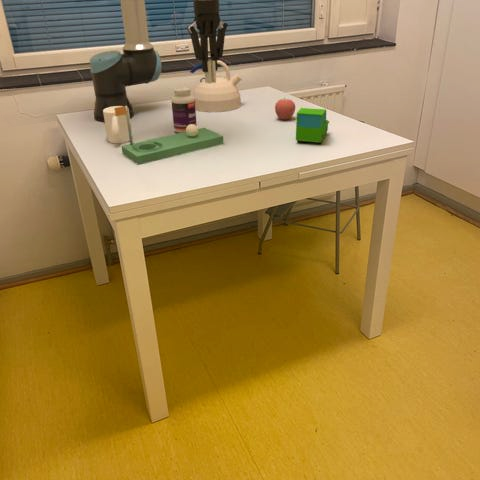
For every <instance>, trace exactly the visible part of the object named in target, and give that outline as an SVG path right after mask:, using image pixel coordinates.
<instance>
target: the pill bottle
mask: <svg viewBox="0 0 480 480" xmlns="http://www.w3.org/2000/svg"><path fill="white" fill-rule="evenodd" d="M173 93H174V95H173V96H172V98H171V100H170V101H171V110H172V122H173V129H174V131H175V132H176V133H182V132H186V127H187V126H188V125H190V124H194V125H196V126H197V124H198V123H197V114H196V113H197V112H196V111H197V110H196V109H195V98H194V97H193V95H192V94H191V88H190V87H185V86H184V87H175V88H174V89H173ZM197 127H198V126H197Z"/></svg>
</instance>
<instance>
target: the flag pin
mask: <svg viewBox="0 0 480 480" xmlns="http://www.w3.org/2000/svg"><path fill="white" fill-rule="evenodd" d="M114 109H115V115H116V116H121V115H126V119H127V126H128V132H129V139H130V141H129V144H130V145H133V143H134V141H133V139H132V136H133V134H132V135H131V129H132V127H131V128H130V122H131V120H130V121H129V114H128V107H127V106H123V107H117V108H114Z"/></svg>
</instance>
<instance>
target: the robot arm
mask: <svg viewBox="0 0 480 480" xmlns="http://www.w3.org/2000/svg"><path fill="white" fill-rule="evenodd" d="M192 5H193V14H194V19H193V23H192V24H191V25H188V26H187V27H186V30H187V31H188V34H189V35H190V39H191V40H190V41H191V44H192V47H193V52H194V57H195V59H196V60H199V61H201V63H202V67H201V70H202V72H203V73H204V78H205V82H206V83H209V84H211V83H212V82H213V83H216V76H217V75H216V74H217V73H216V72H217V71H218V64H217V61H220V58H223V54H224V47H225V40H226V39H225V38H226V31H227V28H228V23H227V22H224V21H222V19H221V17H220V0H193V4H192ZM120 9H121V15H122V16H121V17H122V22H123V30H124V36H125V37H124V38H125V44H124V46H123V47H122V53H121V51H119V50H109V51H102V52H100V53H97V54H96V53H95V55H92V56H91V58H89V65H90V66H89V68H90V69H89V71H90V74H91V79H92V85H93V90H94V97H95V99H94V100H95V101H94V108H93V117H94V120H95V121H98V122H104V123H105V120H104V114H103V110H104V109H105V108H108V107H113V106H127V107H128V109H129V115H130V119H132V118H133V117H134V116H135V111H134V108H133V106H132V104H131V101H130V99H129V98H128V95H127V89H126V87H130V86H137V85H142V84H149V83H153V82H156V81H157V80H158V79H159V78H160V75H161V72H162V59H161V57H160V53H159V52H158V51H157V50H155V49H154V45H153V44H152V43H151V42H150V40H149V38H150V37H149V29H148V22H147V20H148V19H147V13H146V3H145V0H120ZM198 33H199V34H198ZM199 38H200V39H199ZM209 55H210V57H209ZM209 58H210V59H209Z"/></svg>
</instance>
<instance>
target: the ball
mask: <svg viewBox="0 0 480 480" xmlns="http://www.w3.org/2000/svg"><path fill="white" fill-rule="evenodd" d="M198 129H199V128H198V126H196V125H194V124H190V125H188V126H187V127H186V133H187V135H188V136H190V137H194V136H196V135H197V133H198Z"/></svg>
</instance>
